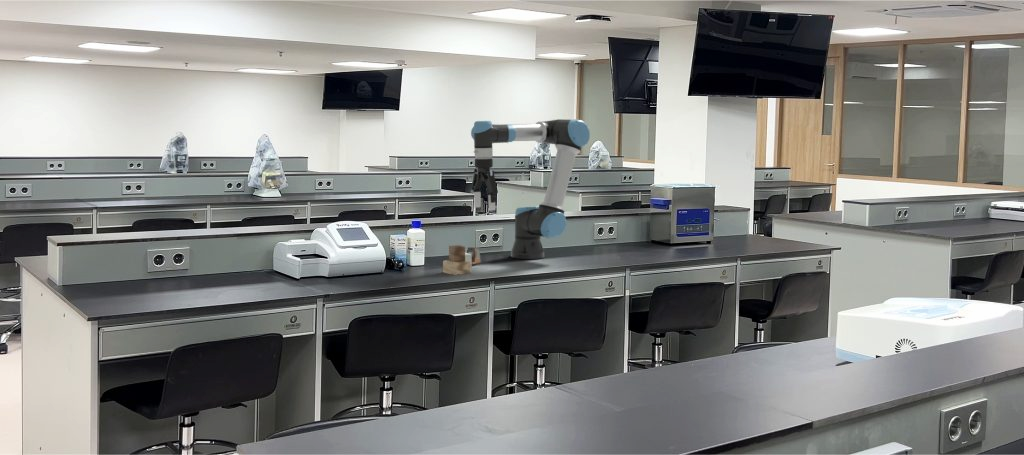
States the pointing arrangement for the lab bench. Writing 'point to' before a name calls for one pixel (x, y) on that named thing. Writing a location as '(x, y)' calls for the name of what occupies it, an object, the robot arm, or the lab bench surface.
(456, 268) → the oak base
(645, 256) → the lab bench surface
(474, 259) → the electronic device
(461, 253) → the walnut block
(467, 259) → the grey cube
